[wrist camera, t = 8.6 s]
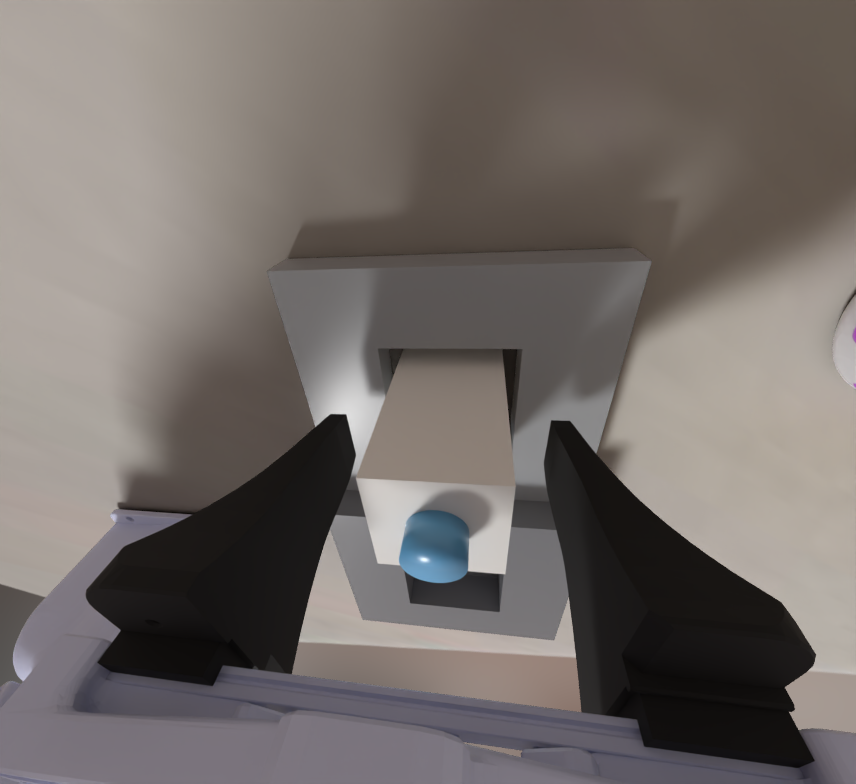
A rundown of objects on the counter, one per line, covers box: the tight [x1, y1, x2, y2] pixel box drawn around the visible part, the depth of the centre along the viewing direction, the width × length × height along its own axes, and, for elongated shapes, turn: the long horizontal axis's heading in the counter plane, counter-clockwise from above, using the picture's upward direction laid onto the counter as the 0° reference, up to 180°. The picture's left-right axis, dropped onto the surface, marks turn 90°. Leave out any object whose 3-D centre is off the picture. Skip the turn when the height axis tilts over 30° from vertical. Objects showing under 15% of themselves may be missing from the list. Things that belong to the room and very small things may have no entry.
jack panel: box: [267, 248, 652, 640], centre depth 18 cm, size 12×22×3 cm, turn 4°
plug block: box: [356, 349, 516, 583], centre depth 13 cm, size 4×4×8 cm
